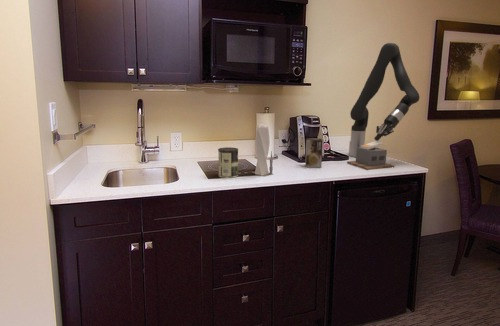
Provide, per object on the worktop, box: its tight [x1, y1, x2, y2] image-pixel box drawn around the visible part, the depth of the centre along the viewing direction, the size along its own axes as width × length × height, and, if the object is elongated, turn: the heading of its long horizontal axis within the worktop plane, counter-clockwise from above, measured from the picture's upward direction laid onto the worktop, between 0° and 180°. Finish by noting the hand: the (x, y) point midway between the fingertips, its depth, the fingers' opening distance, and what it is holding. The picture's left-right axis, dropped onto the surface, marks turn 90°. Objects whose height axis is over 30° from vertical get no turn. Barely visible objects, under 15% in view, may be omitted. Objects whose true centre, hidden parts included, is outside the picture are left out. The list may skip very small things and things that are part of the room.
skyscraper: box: [254, 121, 274, 178], centre depth 191 cm, size 8×8×28 cm
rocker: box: [361, 140, 384, 150], centre depth 216 cm, size 6×11×2 cm, turn 112°
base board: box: [346, 160, 396, 171], centre depth 218 cm, size 18×20×1 cm
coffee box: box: [304, 137, 323, 168], centre depth 212 cm, size 9×6×16 cm
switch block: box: [355, 147, 388, 166], centre depth 217 cm, size 12×12×10 cm
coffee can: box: [217, 146, 239, 179], centre depth 188 cm, size 10×10×14 cm
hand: (375, 139), depth 216 cm, fingers closed
